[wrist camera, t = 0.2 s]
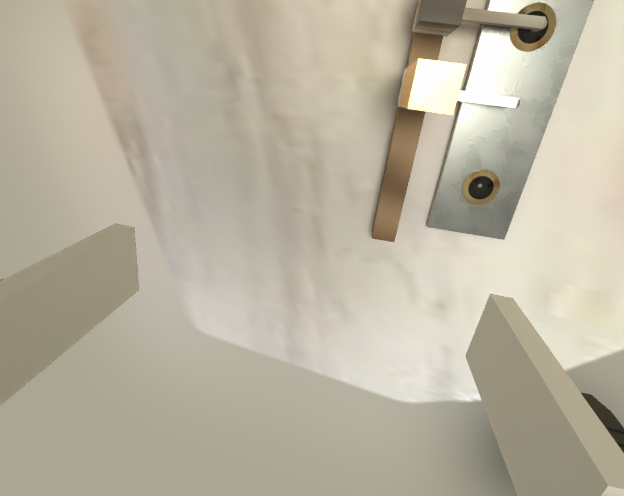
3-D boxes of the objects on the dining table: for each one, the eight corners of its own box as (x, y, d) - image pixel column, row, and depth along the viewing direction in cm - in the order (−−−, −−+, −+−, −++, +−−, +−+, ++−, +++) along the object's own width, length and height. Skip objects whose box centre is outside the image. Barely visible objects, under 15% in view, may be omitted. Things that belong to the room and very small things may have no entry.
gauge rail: (433, -83, 29) (451, -134, 23) (565, -72, 28) (622, -121, 22) (369, 231, 40) (369, 256, 34) (461, 247, 39) (479, 275, 33)
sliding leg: (403, 70, 32) (418, 58, 23) (520, 85, 31) (589, 79, 22) (396, 105, 34) (407, 108, 24) (508, 121, 33) (568, 130, 23)
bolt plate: (500, -46, 29) (505, -51, 28) (601, -36, 29) (609, -41, 28) (426, 223, 39) (428, 227, 38) (501, 236, 38) (504, 239, 37)
